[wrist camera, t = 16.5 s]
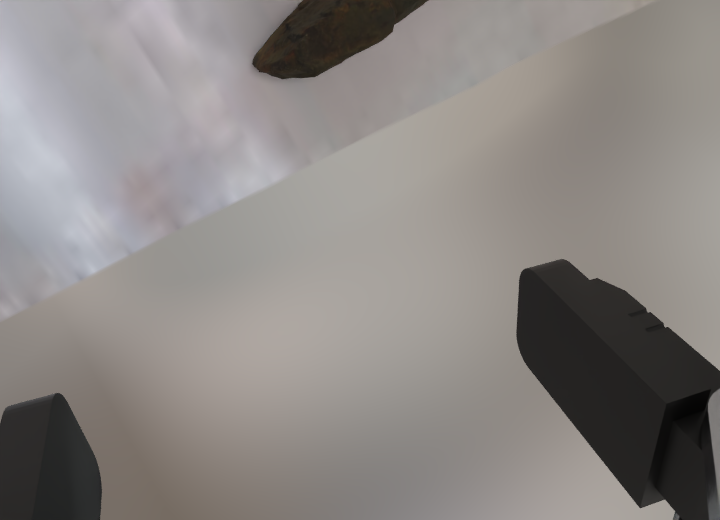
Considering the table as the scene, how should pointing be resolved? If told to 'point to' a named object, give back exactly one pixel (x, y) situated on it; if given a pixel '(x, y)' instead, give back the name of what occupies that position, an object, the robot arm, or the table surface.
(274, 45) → the hand tool
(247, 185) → the table surface
